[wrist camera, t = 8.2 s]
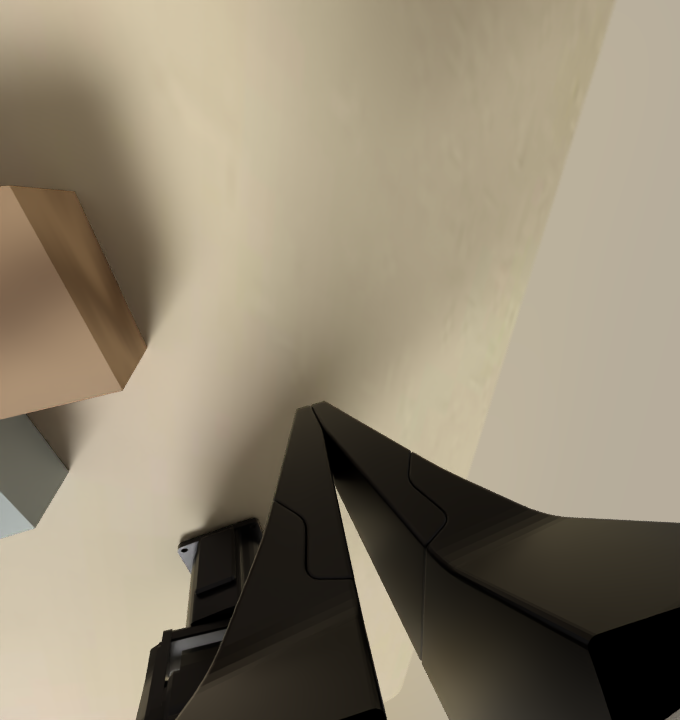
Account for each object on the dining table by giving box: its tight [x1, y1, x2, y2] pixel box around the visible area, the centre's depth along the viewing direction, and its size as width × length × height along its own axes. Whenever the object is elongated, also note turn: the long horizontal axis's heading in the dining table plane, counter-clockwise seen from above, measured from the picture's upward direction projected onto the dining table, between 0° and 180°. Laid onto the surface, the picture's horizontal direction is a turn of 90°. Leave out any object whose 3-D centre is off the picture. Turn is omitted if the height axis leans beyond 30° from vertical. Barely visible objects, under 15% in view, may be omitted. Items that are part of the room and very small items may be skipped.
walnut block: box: [0, 186, 147, 420], centre depth 13 cm, size 8×7×5 cm
